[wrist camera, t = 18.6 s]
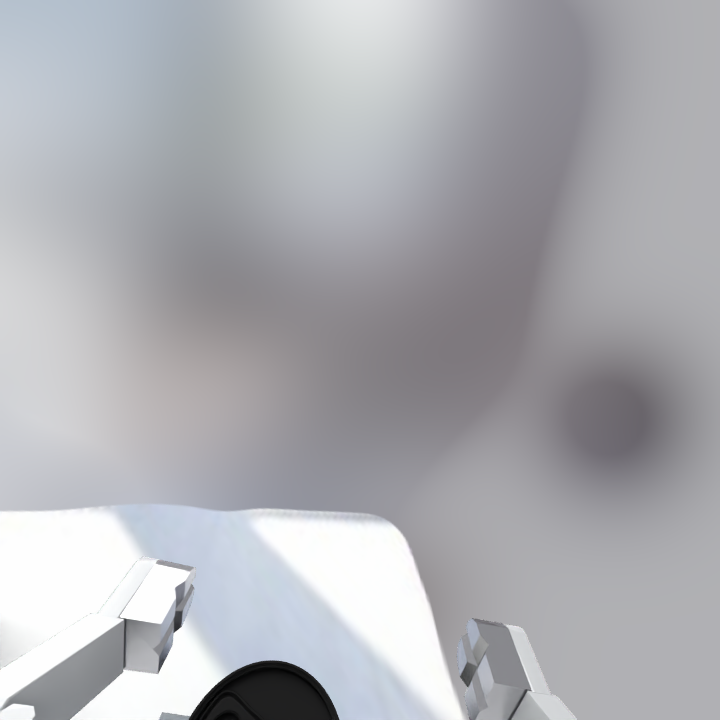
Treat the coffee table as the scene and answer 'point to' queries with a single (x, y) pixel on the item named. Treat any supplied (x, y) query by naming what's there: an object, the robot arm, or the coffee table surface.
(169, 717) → the box
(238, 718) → the beverage can
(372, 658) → the coffee table surface
